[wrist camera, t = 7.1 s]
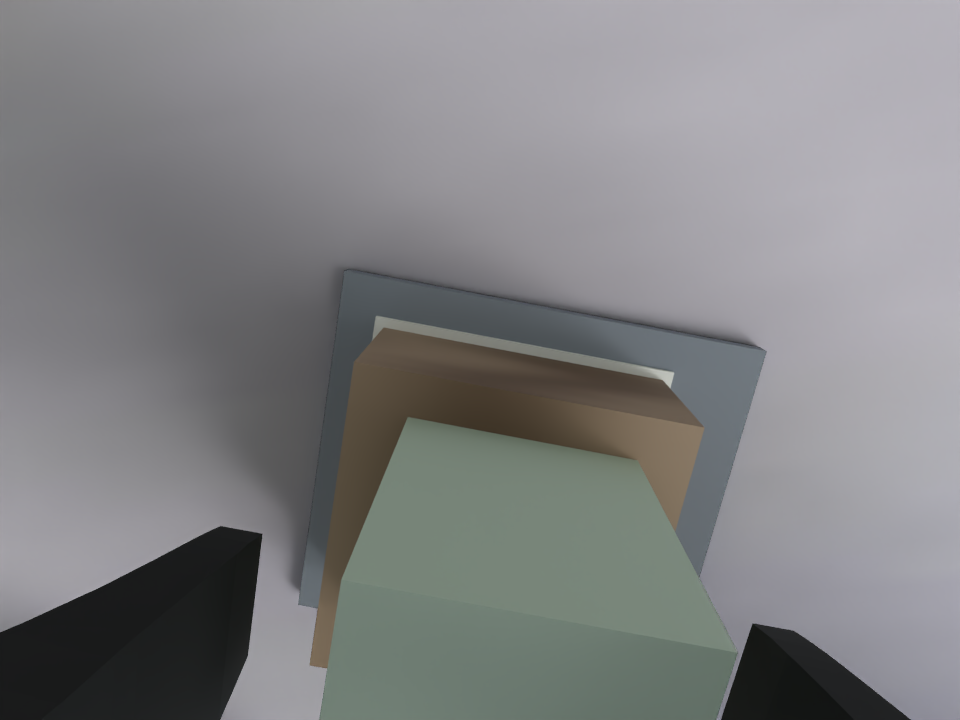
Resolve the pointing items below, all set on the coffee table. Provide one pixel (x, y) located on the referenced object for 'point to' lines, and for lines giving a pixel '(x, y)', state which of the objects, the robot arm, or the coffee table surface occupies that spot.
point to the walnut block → (493, 426)
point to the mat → (554, 335)
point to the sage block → (520, 591)
